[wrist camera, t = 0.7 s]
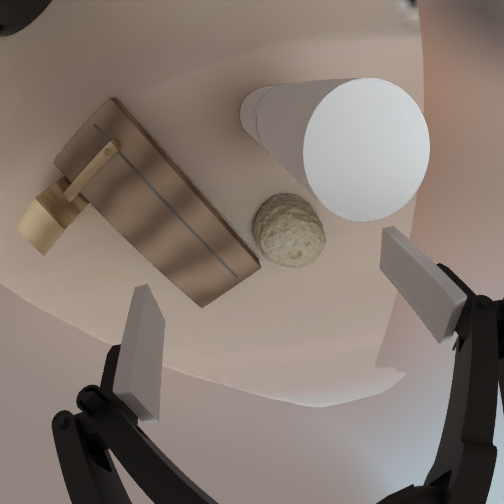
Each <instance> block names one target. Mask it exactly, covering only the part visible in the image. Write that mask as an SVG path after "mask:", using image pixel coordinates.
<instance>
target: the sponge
mask: <svg viewBox="0 0 504 504" xmlns="http://www.w3.org/2000/svg"><path fill="white" fill-rule="evenodd" d="M253 235H254V237H255V241H256V242H257V245H258V247H259V249H260V251H261V253H262V255H263V256H265V258H266V259H268V260H269V261H272V262H274V263H276V264H279V265H282V266H287V267H294V268H300V267H303V266H306V265H308V264H310V263H312V262H314V261H315V260H316V259H317V258H318V257H319V255H320V253H321V251H322V250H323V248H324V246H325V242H326V238H325V233H324V230H323V225H322V223H321V221H320V220H319V218H318V216H317V215H316V213H315V212H314V211H313V210H312V208H311V207H310V205H309V204H308V203H306V202H304V201H303V200H302V199H301V198H300V197H298V196H296V195H290V194H285V195H276V196H273V197H272V198H270V199H269V200H268V201H267V202H266V203H265V204H264V205H263V206H262V207H261V209H260V210H259V212H258V213H257V216H256V219H255V221H254V229H253Z"/></svg>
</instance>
